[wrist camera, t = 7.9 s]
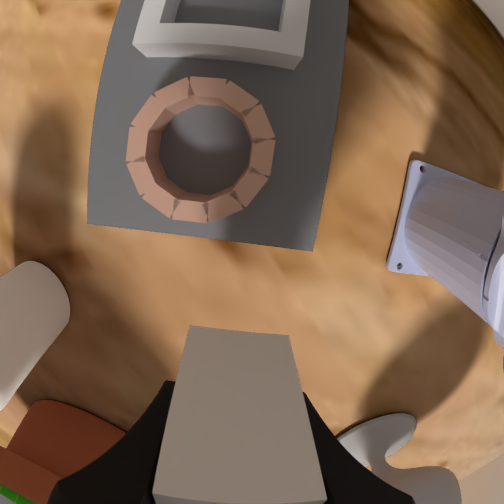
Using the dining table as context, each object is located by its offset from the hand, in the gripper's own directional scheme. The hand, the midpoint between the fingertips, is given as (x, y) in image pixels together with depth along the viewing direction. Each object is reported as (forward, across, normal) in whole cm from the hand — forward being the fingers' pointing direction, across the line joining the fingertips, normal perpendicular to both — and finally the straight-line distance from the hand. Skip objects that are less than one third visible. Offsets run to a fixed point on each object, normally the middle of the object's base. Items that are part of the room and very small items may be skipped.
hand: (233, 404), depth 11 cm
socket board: (+9, +3, -14) cm, 18 cm away
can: (+10, +16, +2) cm, 19 cm away
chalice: (+10, -18, +18) cm, 28 cm away
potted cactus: (+10, +16, +24) cm, 31 cm away
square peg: (+2, 0, 0) cm, 2 cm away
